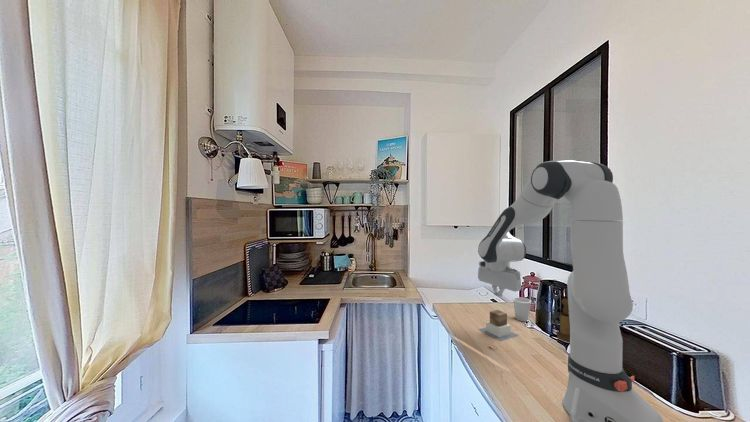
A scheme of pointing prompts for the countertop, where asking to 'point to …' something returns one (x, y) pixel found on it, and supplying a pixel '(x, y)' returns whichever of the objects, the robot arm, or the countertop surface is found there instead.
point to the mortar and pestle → (564, 323)
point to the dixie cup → (521, 308)
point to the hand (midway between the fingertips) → (498, 295)
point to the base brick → (498, 329)
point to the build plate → (497, 336)
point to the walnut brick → (498, 318)
